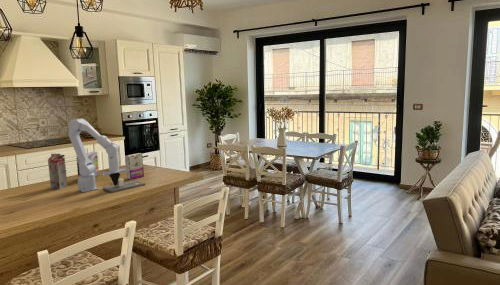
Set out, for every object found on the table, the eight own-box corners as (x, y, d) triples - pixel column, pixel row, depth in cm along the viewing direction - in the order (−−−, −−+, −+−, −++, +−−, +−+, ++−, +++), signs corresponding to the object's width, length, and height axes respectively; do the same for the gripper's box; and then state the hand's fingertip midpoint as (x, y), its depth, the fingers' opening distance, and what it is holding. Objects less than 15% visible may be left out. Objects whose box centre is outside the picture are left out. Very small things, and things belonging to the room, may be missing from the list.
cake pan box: (83, 182, 240) (81, 156, 237) (76, 182, 241) (74, 156, 238) (99, 175, 259) (97, 151, 256) (93, 175, 260) (91, 151, 257)
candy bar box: (139, 175, 256) (138, 152, 253) (144, 176, 253) (142, 153, 250) (126, 178, 247) (124, 155, 245) (130, 179, 244) (128, 156, 242)
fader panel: (111, 192, 214) (111, 190, 213) (103, 189, 222) (103, 187, 222) (145, 185, 229) (144, 183, 229) (135, 182, 237) (135, 180, 237)
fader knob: (119, 186, 221) (118, 180, 220) (116, 185, 224) (115, 179, 223) (124, 185, 223) (123, 179, 223) (121, 184, 226) (120, 178, 225)
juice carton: (60, 189, 224) (56, 154, 221) (51, 188, 225) (47, 154, 222) (67, 186, 231) (64, 152, 227) (58, 186, 232) (55, 152, 229)
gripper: (104, 166, 211) (106, 188, 213) (127, 162, 221) (129, 183, 223) (99, 165, 216) (101, 186, 218) (122, 161, 226) (124, 182, 228)
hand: (115, 185), depth 221 cm, fingers closed
